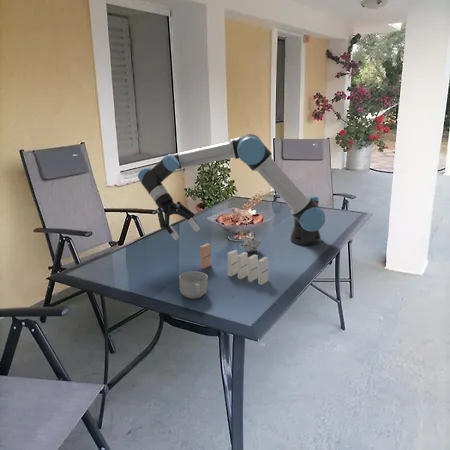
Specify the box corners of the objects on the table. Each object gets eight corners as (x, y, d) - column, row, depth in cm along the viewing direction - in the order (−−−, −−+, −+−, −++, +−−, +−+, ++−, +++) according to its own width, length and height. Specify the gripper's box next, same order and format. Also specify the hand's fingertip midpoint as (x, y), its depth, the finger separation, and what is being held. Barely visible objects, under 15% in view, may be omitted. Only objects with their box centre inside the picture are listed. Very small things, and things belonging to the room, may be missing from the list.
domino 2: (228, 275, 183) (227, 253, 180) (235, 271, 187) (234, 249, 184) (231, 276, 182) (230, 254, 179) (238, 272, 186) (237, 250, 183)
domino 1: (200, 267, 192) (199, 246, 189) (208, 264, 195) (207, 243, 193) (203, 268, 191) (202, 247, 188) (211, 265, 194) (210, 243, 192)
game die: (254, 260, 208) (259, 248, 200) (237, 253, 209) (241, 241, 201) (259, 246, 214) (264, 234, 206) (243, 239, 215) (247, 227, 207)
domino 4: (247, 281, 177) (247, 258, 174) (254, 276, 181) (254, 254, 178) (251, 282, 176) (250, 259, 173) (258, 277, 180) (257, 255, 177)
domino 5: (258, 284, 174) (257, 260, 171) (264, 279, 178) (264, 256, 175) (261, 285, 173) (261, 261, 170) (268, 280, 177) (268, 257, 174)
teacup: (180, 290, 171) (179, 271, 169) (208, 288, 172) (207, 269, 170) (179, 306, 158) (178, 286, 155) (209, 304, 159) (208, 284, 156)
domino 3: (237, 278, 180) (237, 255, 177) (244, 274, 184) (244, 252, 181) (241, 279, 179) (240, 256, 176) (248, 275, 183) (247, 252, 180)
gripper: (176, 197, 211) (201, 231, 206) (137, 208, 192) (164, 247, 187) (184, 187, 206) (210, 222, 202) (144, 198, 187) (172, 237, 183)
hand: (187, 234), depth 194 cm, fingers open, 13 cm apart
